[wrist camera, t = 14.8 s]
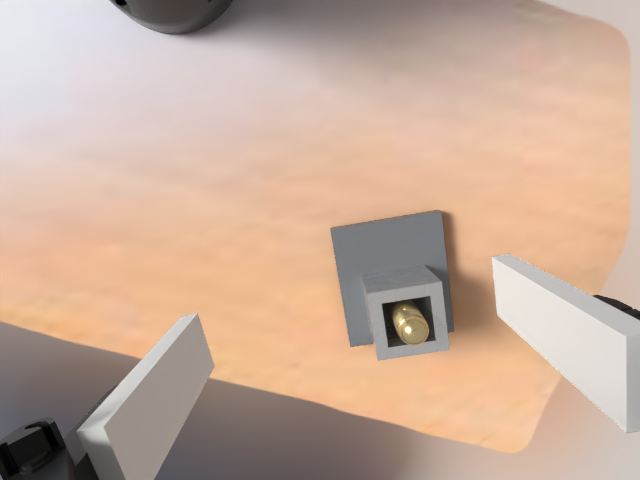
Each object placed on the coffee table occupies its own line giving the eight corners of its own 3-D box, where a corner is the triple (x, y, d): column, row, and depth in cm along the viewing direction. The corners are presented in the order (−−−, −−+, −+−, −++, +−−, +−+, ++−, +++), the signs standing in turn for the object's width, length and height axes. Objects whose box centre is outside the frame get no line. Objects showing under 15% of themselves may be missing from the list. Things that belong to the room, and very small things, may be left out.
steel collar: (360, 274, 38) (367, 293, 32) (423, 264, 37) (441, 281, 31) (370, 332, 39) (377, 360, 33) (430, 322, 39) (449, 349, 33)
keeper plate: (330, 228, 38) (330, 230, 37) (436, 210, 38) (441, 211, 36) (349, 340, 41) (350, 346, 39) (449, 325, 40) (454, 331, 39)
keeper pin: (382, 289, 38) (398, 324, 29) (407, 285, 38) (431, 319, 29) (385, 312, 38) (402, 353, 30) (410, 308, 38) (434, 348, 30)
